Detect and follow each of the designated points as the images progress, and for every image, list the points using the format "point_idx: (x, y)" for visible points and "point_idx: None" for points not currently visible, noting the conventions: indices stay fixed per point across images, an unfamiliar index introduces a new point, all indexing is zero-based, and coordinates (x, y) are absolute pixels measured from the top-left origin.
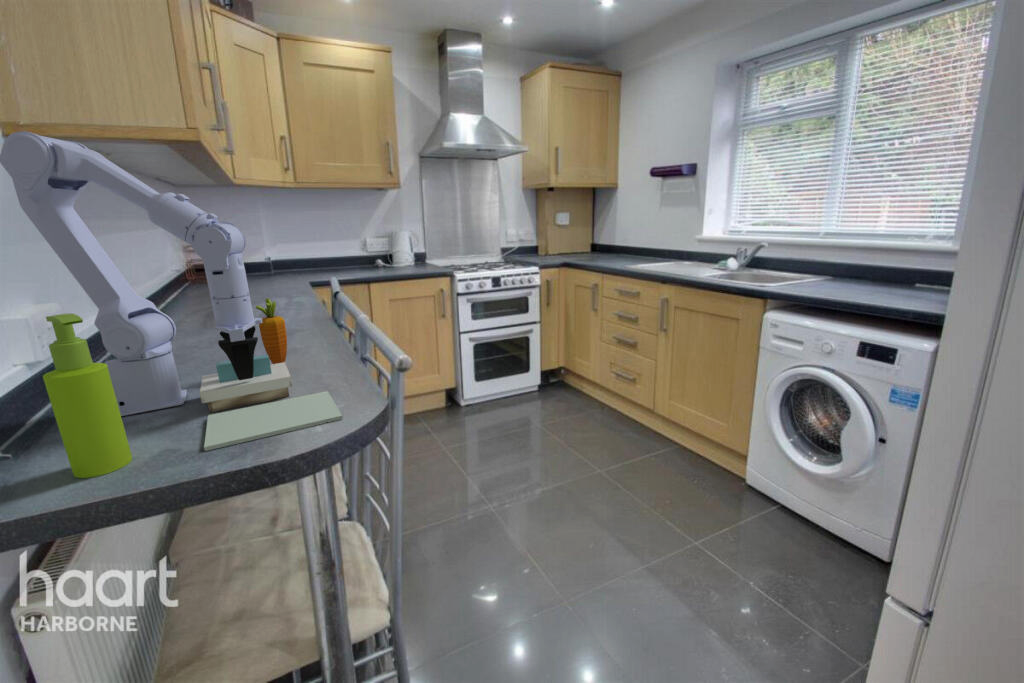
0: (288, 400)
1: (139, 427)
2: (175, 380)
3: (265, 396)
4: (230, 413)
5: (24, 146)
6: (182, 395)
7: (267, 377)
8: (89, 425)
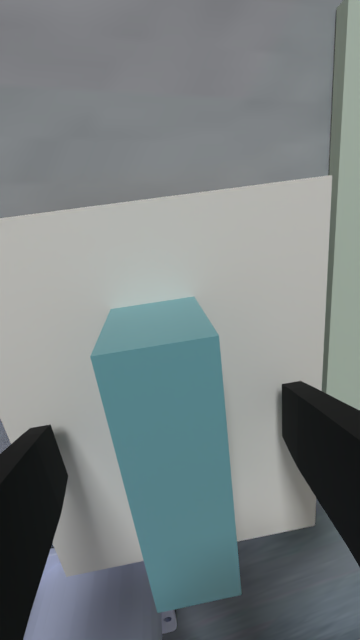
0: (355, 209)
1: (271, 557)
2: (102, 634)
3: None
4: (353, 392)
5: None
6: None
7: (266, 311)
8: None
